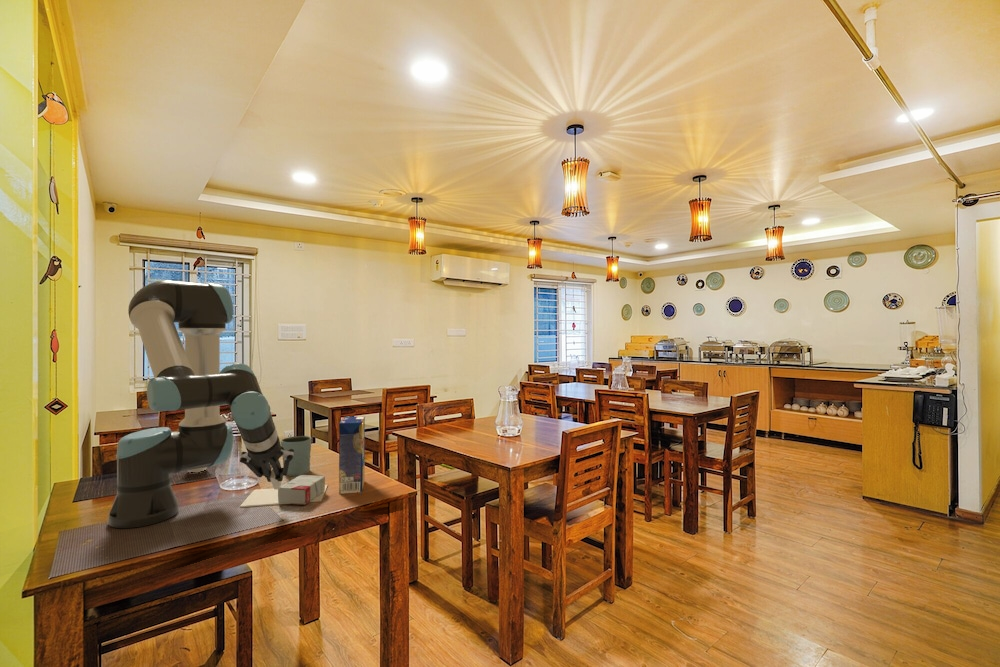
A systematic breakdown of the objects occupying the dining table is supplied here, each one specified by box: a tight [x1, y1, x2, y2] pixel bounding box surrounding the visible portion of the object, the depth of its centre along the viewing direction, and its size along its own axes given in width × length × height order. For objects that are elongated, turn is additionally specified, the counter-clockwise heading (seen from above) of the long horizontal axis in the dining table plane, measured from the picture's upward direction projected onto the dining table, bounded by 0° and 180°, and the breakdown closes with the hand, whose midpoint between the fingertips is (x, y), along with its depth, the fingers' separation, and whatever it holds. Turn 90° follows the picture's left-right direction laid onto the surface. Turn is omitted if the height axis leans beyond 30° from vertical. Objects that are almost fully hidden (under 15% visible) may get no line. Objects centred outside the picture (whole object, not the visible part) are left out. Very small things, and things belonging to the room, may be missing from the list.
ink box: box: [278, 474, 326, 506], centre depth 141 cm, size 9×5×12 cm
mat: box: [239, 484, 329, 508], centre depth 143 cm, size 22×14×1 cm, turn 103°
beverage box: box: [338, 415, 366, 495], centre depth 151 cm, size 7×11×22 cm, turn 12°
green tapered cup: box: [280, 435, 312, 477], centre depth 167 cm, size 10×10×12 cm
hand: (277, 484), depth 132 cm, fingers closed
